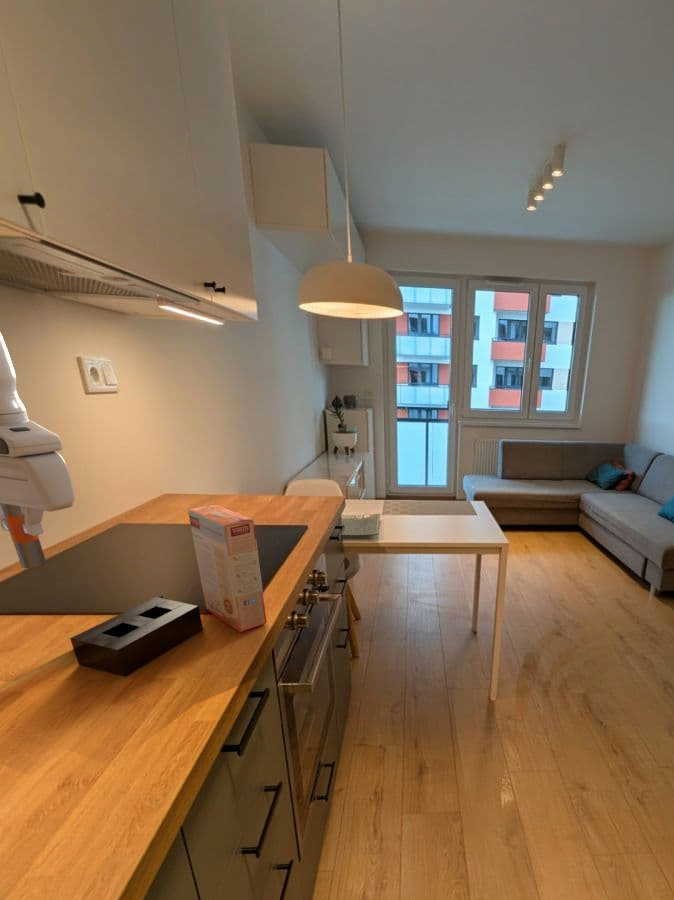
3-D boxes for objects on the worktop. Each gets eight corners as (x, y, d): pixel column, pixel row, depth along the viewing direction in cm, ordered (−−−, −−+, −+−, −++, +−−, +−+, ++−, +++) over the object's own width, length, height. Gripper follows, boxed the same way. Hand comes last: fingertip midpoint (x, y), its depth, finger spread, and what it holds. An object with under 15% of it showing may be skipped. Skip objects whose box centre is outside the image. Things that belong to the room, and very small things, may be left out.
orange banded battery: (16, 566, 76) (-16, 473, 70) (37, 559, 79) (8, 470, 73) (31, 569, 75) (0, 476, 69) (52, 563, 78) (23, 472, 72)
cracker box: (269, 623, 98) (255, 518, 89) (239, 634, 94) (221, 525, 85) (233, 601, 106) (217, 502, 97) (205, 610, 102) (185, 508, 93)
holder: (78, 664, 83) (69, 638, 81) (161, 620, 97) (155, 596, 95) (125, 677, 80) (117, 650, 78) (203, 629, 95) (198, 605, 93)
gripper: (-88, 430, 69) (-50, 528, 75) (21, 444, 63) (52, 548, 69) (-35, 426, 74) (-3, 517, 80) (69, 438, 69) (95, 535, 75)
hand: (23, 532), depth 75 cm, fingers closed on orange banded battery, 3 cm apart
